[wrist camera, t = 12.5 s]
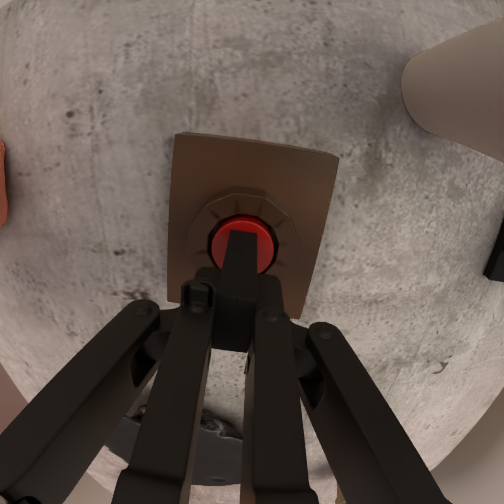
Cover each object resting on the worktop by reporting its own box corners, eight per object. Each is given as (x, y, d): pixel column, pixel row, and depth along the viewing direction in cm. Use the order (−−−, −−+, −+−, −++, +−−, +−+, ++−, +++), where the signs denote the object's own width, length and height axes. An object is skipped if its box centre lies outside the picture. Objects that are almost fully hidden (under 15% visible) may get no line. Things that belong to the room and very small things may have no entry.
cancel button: (218, 207, 18) (214, 216, 16) (277, 215, 18) (278, 226, 17) (212, 260, 20) (208, 273, 18) (267, 267, 20) (268, 281, 18)
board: (264, 467, 38) (264, 493, 33) (131, 451, 38) (124, 475, 33) (279, 387, 29) (281, 427, 24) (86, 365, 29) (69, 397, 24)
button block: (183, 132, 18) (166, 135, 15) (331, 153, 19) (348, 162, 15) (173, 286, 24) (160, 316, 20) (296, 303, 24) (302, 335, 20)
